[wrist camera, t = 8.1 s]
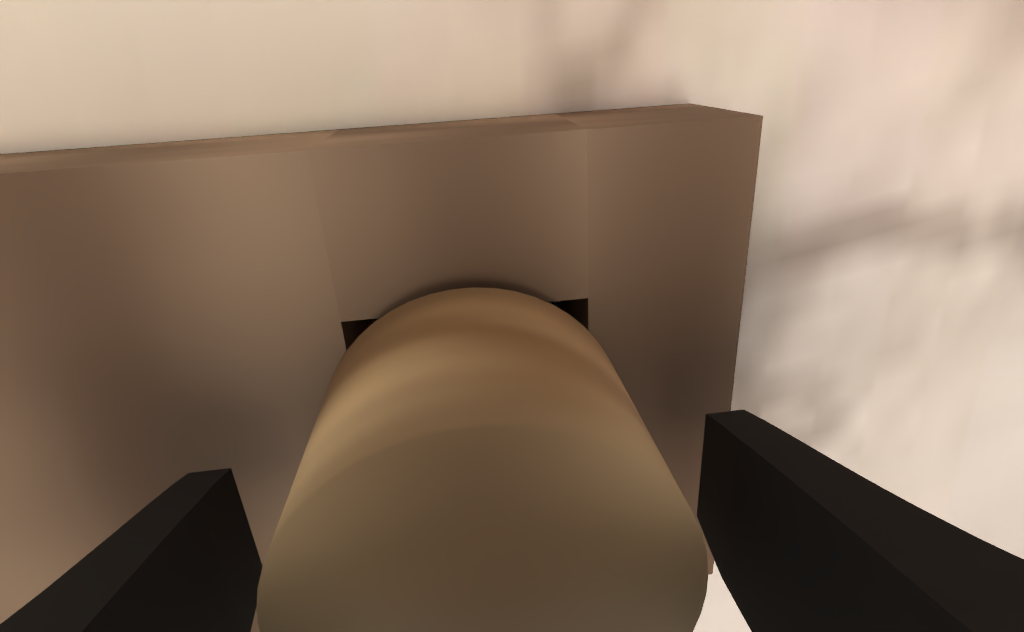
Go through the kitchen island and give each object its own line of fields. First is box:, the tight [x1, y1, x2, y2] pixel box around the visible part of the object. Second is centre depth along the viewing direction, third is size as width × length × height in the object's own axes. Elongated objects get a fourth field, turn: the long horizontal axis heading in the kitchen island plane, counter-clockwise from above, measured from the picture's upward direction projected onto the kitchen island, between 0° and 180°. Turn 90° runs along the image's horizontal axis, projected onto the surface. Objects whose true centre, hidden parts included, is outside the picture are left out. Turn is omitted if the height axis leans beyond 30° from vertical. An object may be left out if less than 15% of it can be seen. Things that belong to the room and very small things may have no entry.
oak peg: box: [257, 287, 708, 632], centre depth 10 cm, size 5×5×8 cm
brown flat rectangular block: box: [0, 104, 763, 632], centre depth 12 cm, size 16×10×3 cm, turn 94°
